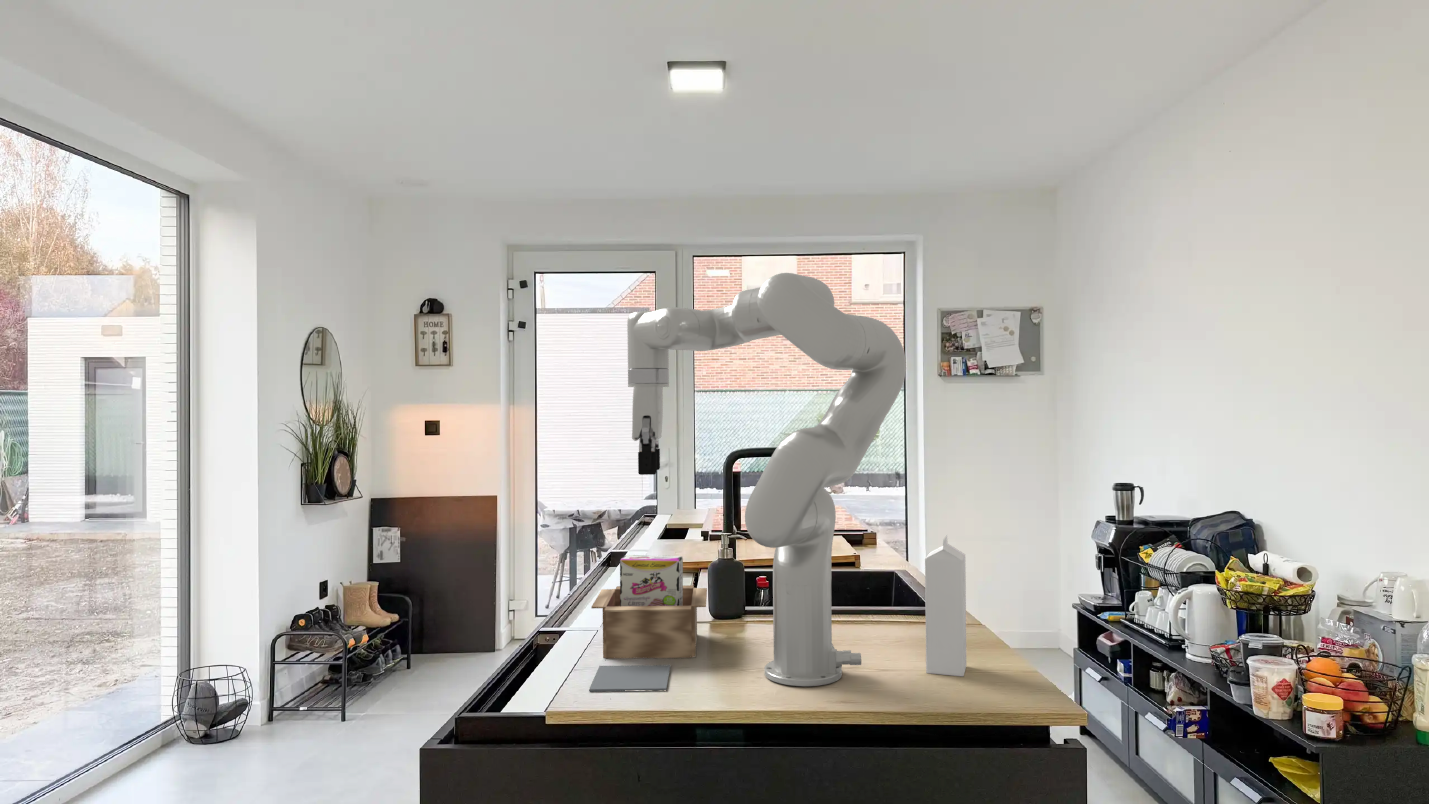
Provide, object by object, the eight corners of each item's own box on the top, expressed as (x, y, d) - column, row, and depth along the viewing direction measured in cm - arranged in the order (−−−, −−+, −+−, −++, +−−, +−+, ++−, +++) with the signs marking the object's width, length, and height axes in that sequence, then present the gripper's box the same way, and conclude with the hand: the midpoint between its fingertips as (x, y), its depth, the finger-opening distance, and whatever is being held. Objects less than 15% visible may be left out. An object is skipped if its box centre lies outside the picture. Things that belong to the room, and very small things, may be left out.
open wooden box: (707, 631, 172) (707, 585, 171) (706, 660, 152) (705, 608, 152) (604, 632, 172) (603, 586, 172) (589, 662, 152) (589, 610, 152)
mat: (670, 667, 149) (670, 664, 149) (666, 690, 137) (666, 688, 137) (599, 668, 149) (599, 665, 149) (589, 691, 137) (589, 689, 137)
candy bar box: (619, 649, 160) (618, 559, 160) (625, 641, 165) (623, 554, 165) (680, 650, 159) (679, 559, 159) (684, 642, 164) (683, 554, 164)
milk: (966, 666, 148) (966, 535, 147) (963, 677, 142) (963, 540, 142) (929, 662, 150) (929, 533, 150) (925, 673, 144) (924, 538, 144)
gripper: (632, 380, 170) (633, 468, 170) (623, 378, 153) (624, 476, 153) (671, 379, 170) (672, 468, 170) (666, 377, 153) (667, 476, 153)
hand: (649, 472), depth 162 cm, fingers open, 9 cm apart
